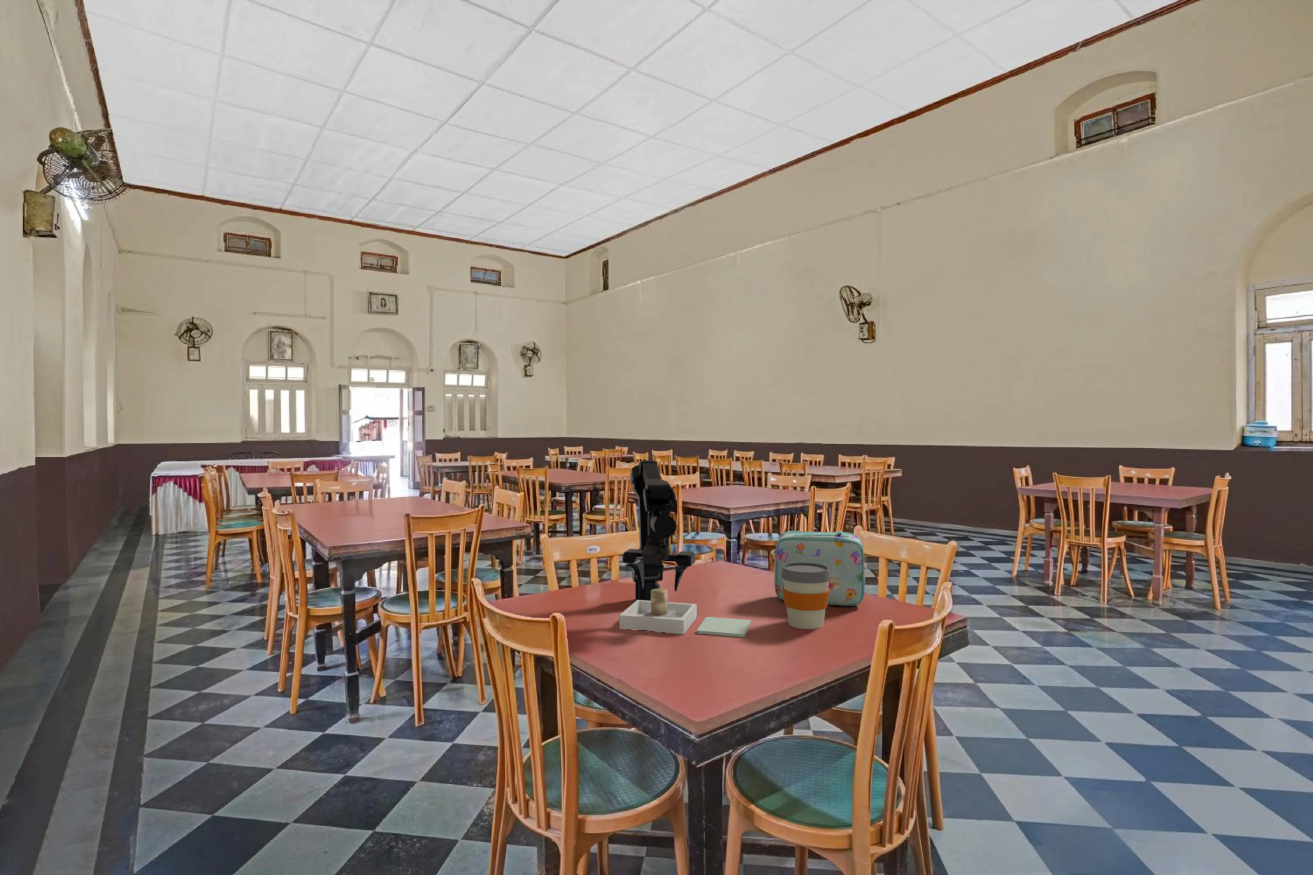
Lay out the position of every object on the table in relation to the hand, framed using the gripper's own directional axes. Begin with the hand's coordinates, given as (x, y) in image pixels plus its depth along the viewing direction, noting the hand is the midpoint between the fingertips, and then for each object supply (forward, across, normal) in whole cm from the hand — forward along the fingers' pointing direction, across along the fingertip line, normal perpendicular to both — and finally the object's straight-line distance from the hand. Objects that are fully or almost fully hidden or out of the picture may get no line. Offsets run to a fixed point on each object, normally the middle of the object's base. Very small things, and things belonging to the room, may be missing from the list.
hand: (659, 589), depth 176 cm
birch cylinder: (+6, 0, 0) cm, 6 cm away
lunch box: (+9, +41, +32) cm, 52 cm away
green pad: (+9, +18, 0) cm, 20 cm away
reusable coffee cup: (+9, +38, +9) cm, 40 cm away
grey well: (+9, 0, 0) cm, 9 cm away
